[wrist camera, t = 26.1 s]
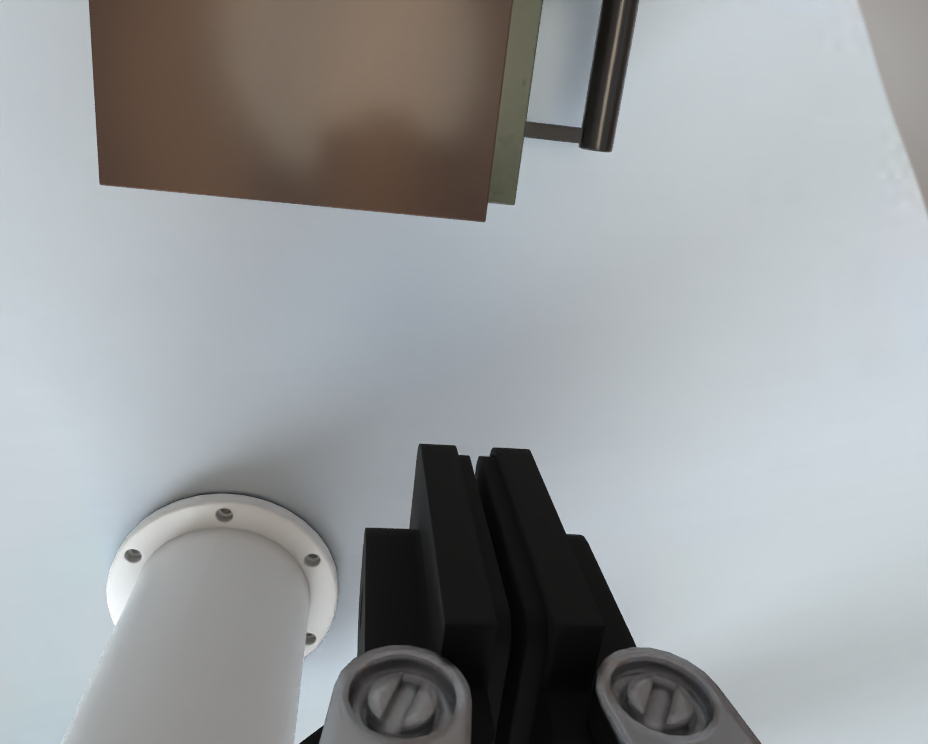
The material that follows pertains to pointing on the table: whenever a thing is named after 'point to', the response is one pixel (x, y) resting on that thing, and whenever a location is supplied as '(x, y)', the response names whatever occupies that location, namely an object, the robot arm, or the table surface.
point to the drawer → (599, 101)
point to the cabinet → (303, 100)
